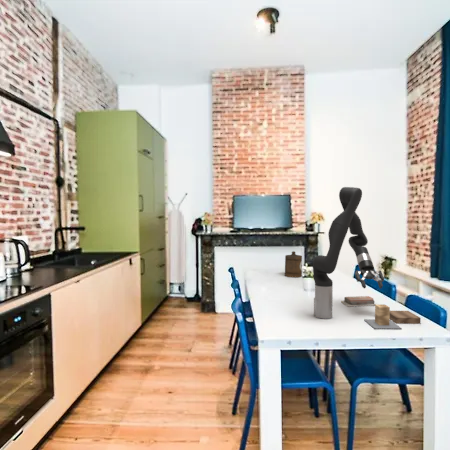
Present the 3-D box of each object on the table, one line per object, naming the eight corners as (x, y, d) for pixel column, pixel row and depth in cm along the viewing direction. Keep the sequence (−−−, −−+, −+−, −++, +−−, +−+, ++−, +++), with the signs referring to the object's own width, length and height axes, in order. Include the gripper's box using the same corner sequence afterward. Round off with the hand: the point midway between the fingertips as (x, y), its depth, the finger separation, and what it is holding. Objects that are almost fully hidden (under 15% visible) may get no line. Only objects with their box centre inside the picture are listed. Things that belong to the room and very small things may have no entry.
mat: (374, 329, 160) (374, 328, 160) (364, 320, 173) (364, 319, 173) (401, 329, 160) (401, 328, 160) (389, 320, 173) (389, 319, 173)
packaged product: (368, 294, 209) (376, 298, 199) (367, 302, 209) (376, 306, 199) (340, 295, 208) (348, 299, 198) (340, 303, 208) (347, 307, 198)
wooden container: (304, 277, 288) (304, 252, 288) (289, 278, 285) (289, 252, 284) (297, 274, 303) (297, 250, 302) (282, 274, 299) (282, 250, 299)
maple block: (379, 325, 164) (379, 307, 164) (374, 321, 169) (375, 304, 169) (389, 325, 164) (389, 307, 163) (384, 321, 169) (385, 304, 168)
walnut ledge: (396, 323, 168) (396, 317, 168) (385, 316, 180) (385, 310, 180) (420, 323, 168) (420, 317, 167) (408, 316, 180) (408, 310, 179)
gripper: (354, 259, 186) (361, 283, 175) (379, 259, 185) (388, 283, 174) (350, 266, 191) (357, 291, 180) (375, 267, 191) (384, 291, 180)
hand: (373, 287), depth 177 cm, fingers open, 8 cm apart
